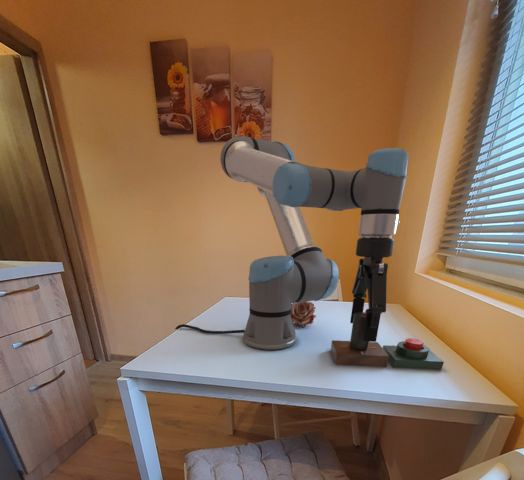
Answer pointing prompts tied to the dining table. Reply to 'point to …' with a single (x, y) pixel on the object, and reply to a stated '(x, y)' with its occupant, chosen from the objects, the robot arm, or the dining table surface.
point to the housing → (412, 357)
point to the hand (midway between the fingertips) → (361, 331)
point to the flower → (302, 313)
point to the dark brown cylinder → (358, 332)
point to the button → (413, 344)
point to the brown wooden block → (359, 355)
